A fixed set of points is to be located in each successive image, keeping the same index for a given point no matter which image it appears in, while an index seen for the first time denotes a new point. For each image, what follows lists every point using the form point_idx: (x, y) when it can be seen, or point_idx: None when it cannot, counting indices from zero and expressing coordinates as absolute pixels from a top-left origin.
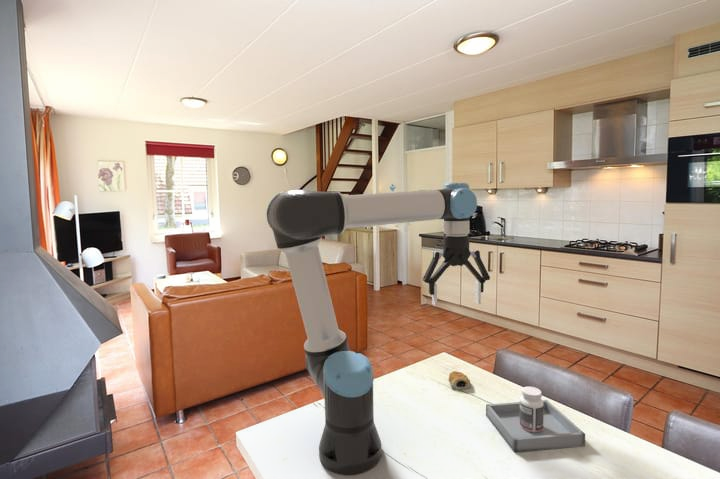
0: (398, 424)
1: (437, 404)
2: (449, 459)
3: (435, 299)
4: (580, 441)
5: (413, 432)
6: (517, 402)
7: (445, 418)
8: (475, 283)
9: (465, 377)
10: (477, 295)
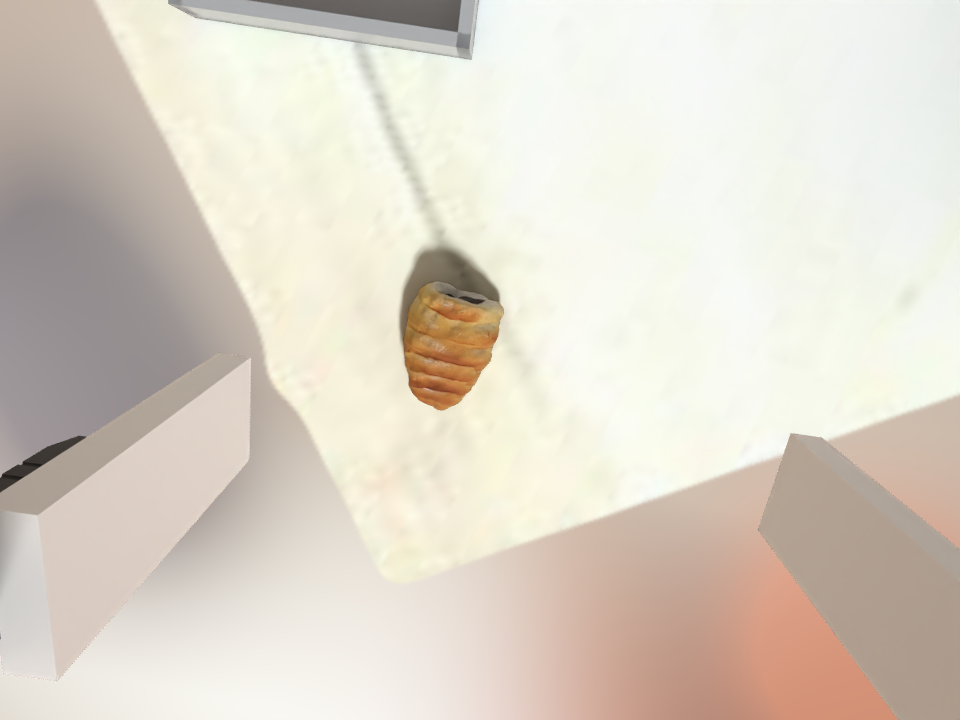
0: (853, 101)
1: (622, 203)
2: None
3: (866, 479)
4: None
5: (826, 24)
6: (317, 23)
7: (646, 88)
8: (86, 620)
9: (428, 320)
10: (198, 427)
